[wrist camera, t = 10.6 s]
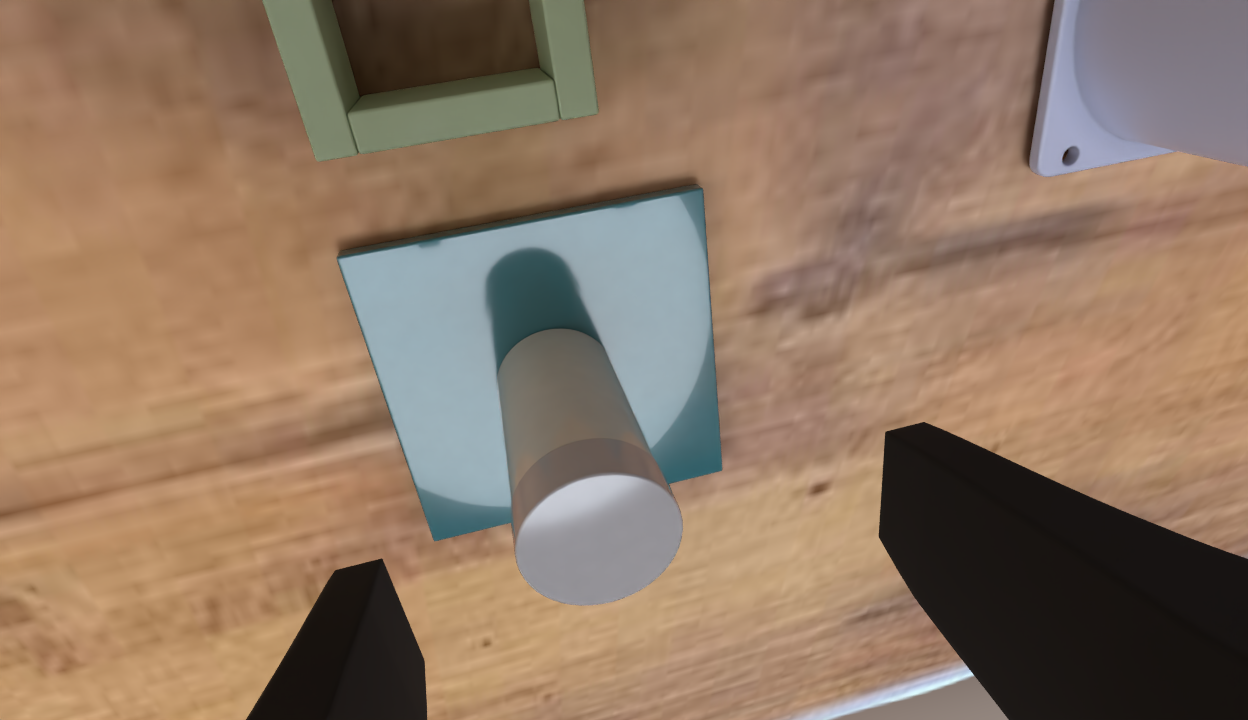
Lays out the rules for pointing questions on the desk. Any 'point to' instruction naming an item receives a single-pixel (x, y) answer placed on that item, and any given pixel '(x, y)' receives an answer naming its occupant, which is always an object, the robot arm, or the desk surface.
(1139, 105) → the robot arm
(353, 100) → the spice rack
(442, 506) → the coaster
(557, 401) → the shaker
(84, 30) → the desk surface
